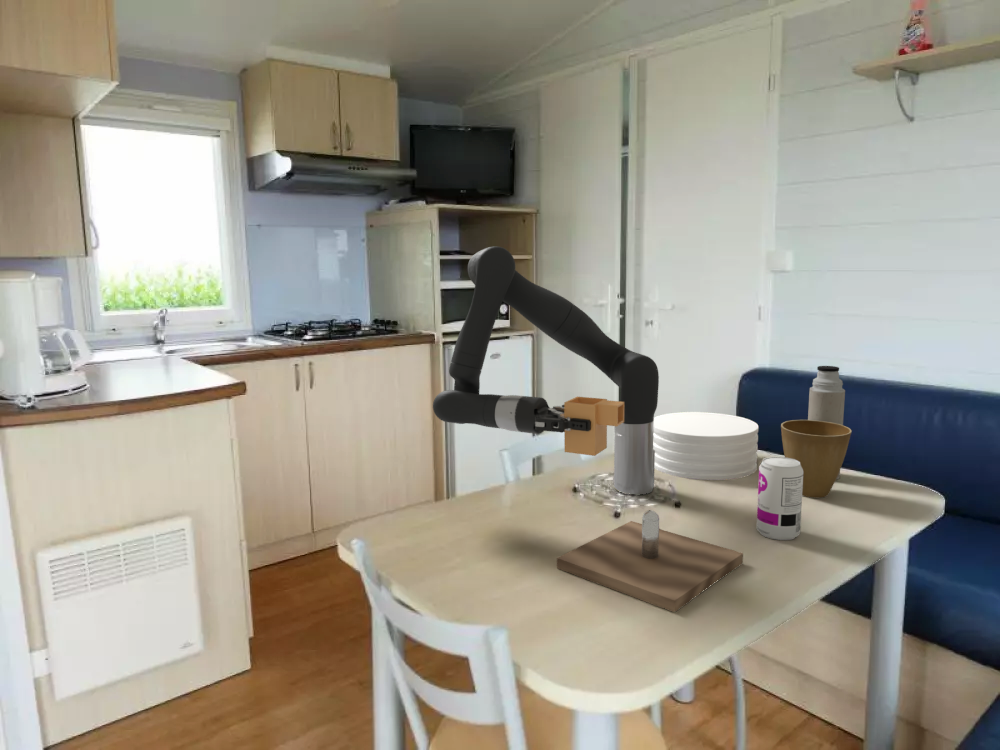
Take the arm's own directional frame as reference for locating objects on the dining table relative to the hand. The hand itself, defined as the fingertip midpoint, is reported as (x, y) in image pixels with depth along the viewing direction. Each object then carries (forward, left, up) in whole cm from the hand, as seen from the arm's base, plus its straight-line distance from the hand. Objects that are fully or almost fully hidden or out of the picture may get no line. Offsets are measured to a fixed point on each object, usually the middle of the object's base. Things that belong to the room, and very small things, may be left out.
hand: (596, 421), depth 136 cm
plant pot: (-55, +22, -24) cm, 64 cm away
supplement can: (-26, +26, -24) cm, 44 cm away
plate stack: (-60, -9, -24) cm, 65 cm away
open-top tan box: (0, 0, -6) cm, 6 cm away
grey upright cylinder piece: (+4, +15, -22) cm, 27 cm away
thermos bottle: (-70, +19, -24) cm, 76 cm away
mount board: (+4, +15, -24) cm, 29 cm away
